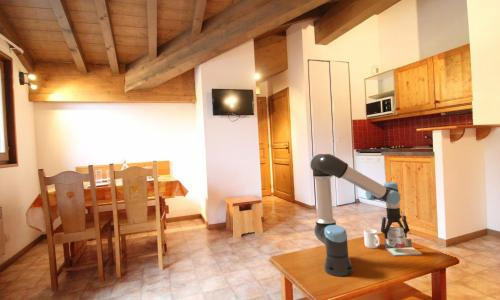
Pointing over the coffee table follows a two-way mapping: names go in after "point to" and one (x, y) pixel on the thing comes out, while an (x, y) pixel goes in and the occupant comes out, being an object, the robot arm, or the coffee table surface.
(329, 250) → the robot arm
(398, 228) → the ink box
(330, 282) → the coffee table surface
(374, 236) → the mug
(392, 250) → the laptop
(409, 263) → the coffee table surface
